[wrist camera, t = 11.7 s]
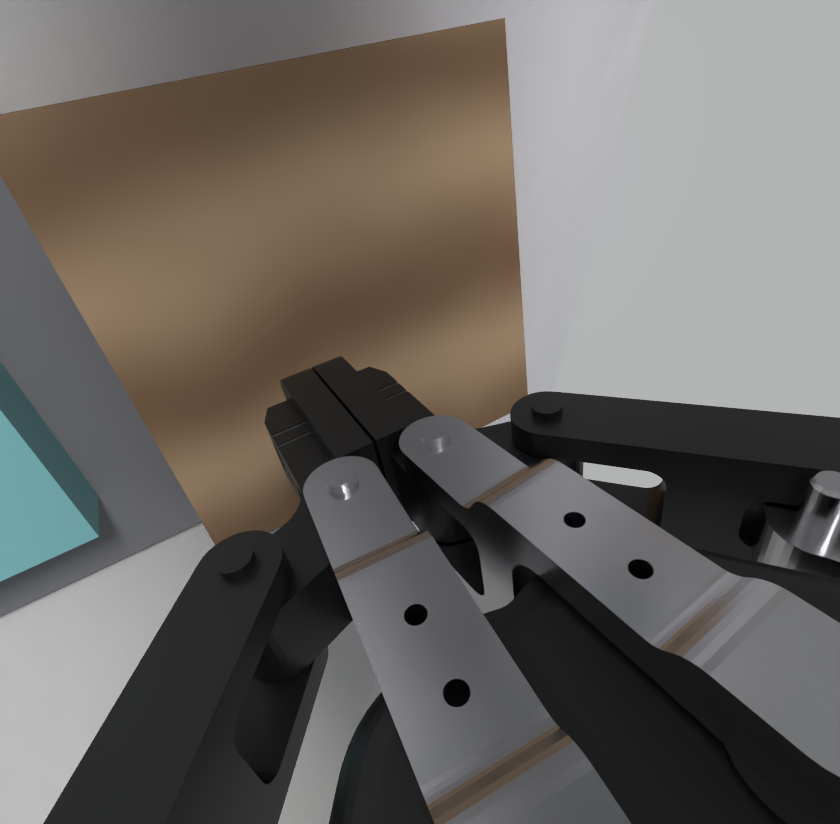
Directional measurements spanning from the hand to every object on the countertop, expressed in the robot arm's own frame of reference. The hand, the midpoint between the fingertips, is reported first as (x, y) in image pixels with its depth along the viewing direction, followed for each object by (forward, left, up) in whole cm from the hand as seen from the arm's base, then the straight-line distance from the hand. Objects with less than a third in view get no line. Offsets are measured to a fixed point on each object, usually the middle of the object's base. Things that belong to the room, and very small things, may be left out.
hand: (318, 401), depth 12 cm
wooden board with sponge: (0, +3, -9) cm, 9 cm away
